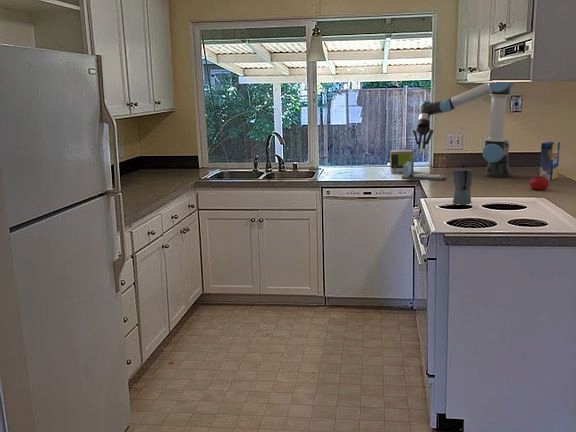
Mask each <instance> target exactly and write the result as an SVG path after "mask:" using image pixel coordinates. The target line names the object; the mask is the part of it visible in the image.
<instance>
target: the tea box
mask: <svg viewBox="0 0 576 432" xmlns="http://www.w3.org/2000/svg"><path fill="white" fill-rule="evenodd" d="M389 153H390V154H389V157H390V161H389V162H390V164H389V166H390V167H389V170H390V173H391V174H403V165H405V164H406V162H407V161H413V173H414V171H415V170H414V168H415V167H414V163H415V162H414V157H415V156H414V155H415V154H414V153H415V152H414V151H413V149H402V150H401V149H400V150H398V149H397V150H395V149H393V150H390V151H389Z"/></svg>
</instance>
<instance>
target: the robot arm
mask: <svg viewBox="0 0 576 432" xmlns="http://www.w3.org/2000/svg"><path fill="white" fill-rule="evenodd" d="M514 82H515V81H514ZM514 82H496V83H487V82H485V83H482V84H480V85H478V86H476V87H473V88H471V89H468V90H467V91H464V92H462V93H460V94H457V95H455V96H452V97H451V98H450V97H449V98H447V99H444V100H443V99H442V100H439V101H435V102H431V101H430V100H426V99H425V100H422V101H421V102H420V103H419V107H418V116H417V117H418V120H417V127H416V129H415V130H412V134H413V135H414V138H415V143H416V145H418V149H419V154H420V155H423V154H424V150H425V149H426V145H429V143H430V141H431V138H432V135H434V129H431V126H430V125H431V116H433V115H434V116H435V115H440V114H443V113H449V112H452V110H456V109H457V108H460V107H462V106H465V105H468V104H470V103H472V102H475V101H477V100H480V99H482V98H484V97H488V96H490V97H491V99H490V100H491V102H490V103H491V104H490V111H489V112H490V114H489V122H488V123H489V124H488V125H489V126H488V134H487V135H488V136H487V137H486V138H485V140H484V147H483V149H482V156H483V159H484V160H485V161H486V162H488V164H487V166H486V170H485V173H484V175H485V177H490V178H508V177H511V171H510V168H509V167H510V166H509V148H510V140H508V139H504V130H505V119H506V110H507V109H506V108H507V98H508V97H509V96H510V94H511V88H512V87H513V85H514ZM417 134H418V135H419V136H418V135H417ZM418 137H419V139H418Z"/></svg>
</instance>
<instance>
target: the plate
mask: <svg viewBox="0 0 576 432" xmlns="http://www.w3.org/2000/svg"><path fill="white" fill-rule="evenodd" d="M445 178H446V174H445V175H444V174H425V173H422V174H421V173H411V174H410V175H409V177H403V175H402V176H401V180H419V181H442V182H443V180H444V179H445Z"/></svg>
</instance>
